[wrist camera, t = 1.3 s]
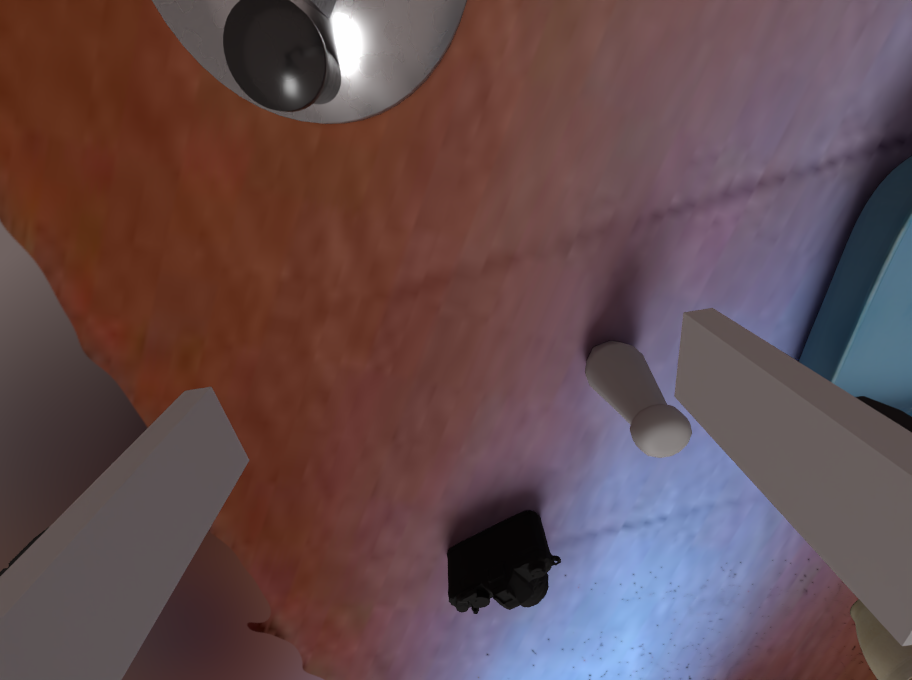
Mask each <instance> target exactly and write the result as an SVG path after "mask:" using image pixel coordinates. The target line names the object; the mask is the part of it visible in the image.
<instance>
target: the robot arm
mask: <svg viewBox="0 0 912 680" xmlns="http://www.w3.org/2000/svg"><path fill="white" fill-rule="evenodd" d="M675 397H676V399H677V400H678V401H679V402H680V403H681V404H682V405H683V406H684V407H685V408H686V410H687V411H688V412H689V413H690V414H691V415H692V416H693V417H694V418H695V419H696V421H697V422H698V423H699V424H700V425H701V426H702V427H703V428H704V429H705V430H706V432H707V433H708V434H709V435H710V436H711V437H712V438H713V439H714V440H715V441H716V443H717V444H718V445H719V446H720V447H721V448H722V449H723V450H724V451H725V452H726V454H727V455H728V456H729V457H730V458H731V459H732V460H733V461H734V462H735V463H736V465H737V466H738V467H739V468H740V469H741V470H742V471H743V472H744V473H745V474H746V475H747V477H748V478H749V479H750V480H751V481H752V482H753V483H754V484H755V485H756V486H757V488H758V489H759V490H760V491H761V492H762V493H763V494H764V495H765V496H766V497H767V499H768V500H769V501H770V502H771V503H772V504H773V505H774V506H775V507H776V508H777V510H778V511H779V512H780V513H781V514H782V515H783V516H784V517H785V518H786V519H787V521H788V522H789V523H790V524H791V525H792V526H793V527H794V528H795V529H796V530H797V532H798V533H799V534H800V535H801V536H802V537H803V538H804V539H805V540H806V541H807V543H808V544H809V545H810V546H811V547H812V548H813V549H814V550H815V551H816V552H817V553H818V555H819V556H820V557H821V558H822V559H823V560H824V561H825V562H826V563H827V564H828V566H829V567H830V568H831V569H832V570H833V571H834V572H835V573H836V574H837V575H838V577H839V578H840V579H841V580H842V581H843V582H844V583H845V584H846V585H847V586H848V588H849V589H850V590H851V591H852V592H853V593H854V594H855V595H856V596H857V597H858V599H859V600H860V601H861V602H862V603H863V604H864V605H865V606H866V607H867V608H868V610H869V611H870V612H871V613H872V614H873V615H874V616H875V617H876V618H877V619H878V621H879V622H880V623H881V624H882V625H883V626H884V627H885V628H886V629H887V630H888V631H889V633H890V634H891V635H892V636H893V637H894V638H895V639H896V640H897V641H898V642H899V644H900V645H901V646H908V645H912V416H910V415H908V414H906V413H905V412H903V411H901V410H899V409H897V408H894V407H891V406H889V405H886V404H884V403H881V402H878V401H876V400H873V399H870V398H868V397H865V396H859V397H854V396H852V395H851V394H849V393H848V392H846V391H844V390H843V389H841V388H840V387H838V386H836V385H835V384H833V383H832V382H830V381H828V380H827V379H825V378H824V377H822V376H820V375H819V374H817V373H816V372H814V371H812V370H811V369H809V368H808V367H806V366H804V365H803V364H801V363H800V362H798V361H796V360H795V359H793V358H792V357H790V356H788V355H787V354H785V353H784V352H782V351H780V350H779V349H777V348H776V347H774V346H772V345H771V344H769V343H768V342H766V341H764V340H763V339H761V338H760V337H758V336H756V335H755V334H753V333H752V332H750V331H748V330H747V329H745V328H744V327H742V326H740V325H739V324H737V323H736V322H734V321H732V320H731V319H729V318H728V317H726V316H724V315H723V314H721V313H720V312H718V311H716V310H715V309H713V308H709V309H703V310H697V311H690V312H684V314H683V323H682V332H681V341H680V350H679V359H678V369H677V378H676V387H675ZM248 462H249V459H248V457H247V455H246V453H245V451H244V449H243V447H242V445H241V443H240V441H239V439H238V437H237V436H236V434H235V432H234V430H233V428H232V426H231V424H230V422H229V420H228V418H227V416H226V414H225V412H224V410H223V408H222V407H221V405H220V403H219V401H218V399H217V397H216V395H215V393H214V391H213V389H212V387H207V388H200V389H194V390H188V391H184V392H183V393H182V394H181V395H180V396H179V397H178V398H177V399H176V400H175V401H174V402H173V403H172V404H171V405H170V406H169V407H168V408H167V409H166V410H165V411H164V412H163V413H162V414H161V415H160V416H159V417H158V419H157V420H156V421H155V422H154V423H153V424H152V425H151V426H150V427H149V428H148V429H147V430H146V431H145V432H144V433H143V434H142V435H141V436H140V437H139V438H138V439H137V440H136V441H135V442H134V443H133V444H132V445H131V446H130V447H129V448H128V449H127V450H126V451H125V452H124V453H123V454H122V455H121V456H120V457H119V458H118V459H117V460H116V461H115V462H114V463H113V464H112V465H111V466H110V467H109V468H108V469H107V470H106V471H105V472H104V473H103V474H102V475H101V476H100V477H99V478H98V479H97V480H96V481H95V482H94V483H93V484H92V485H91V486H90V487H89V488H88V489H87V490H86V491H85V492H84V493H83V494H82V495H81V496H80V497H79V498H78V499H77V500H76V501H75V502H74V503H73V504H72V505H71V506H70V507H69V508H68V509H67V510H66V511H65V512H64V513H63V514H62V515H61V516H60V517H59V518H58V519H57V520H56V521H55V522H54V523H53V524H52V525H51V526H50V527H49V528H47V529H46V530H44V531H43V532H42V533H40V534H39V535H38V536H36V537H35V538H34V539H33V540H32V541H31V542H30V543H29V544H28V545H27V546H26V547H25V548H24V549H23V550H22V551H21V552H20V553H19V554H18V555H17V556H16V557H15V558H14V559H13V560H12V561H11V562H10V563H9V567H8V568H5V569H3V570H2V571H1V572H0V680H121V679H122V678H123V676H124V674H125V673H126V671H127V669H128V668H129V666H130V664H131V662H132V661H133V659H134V657H135V656H136V654H137V652H138V650H139V648H140V647H141V645H142V643H143V642H144V640H145V638H146V637H147V635H148V633H149V631H150V629H151V628H152V626H153V625H154V623H155V621H156V619H157V618H158V616H159V614H160V613H161V611H162V609H163V607H164V606H165V604H166V602H167V601H168V599H169V597H170V595H171V594H172V592H173V590H174V589H175V587H176V585H177V583H178V582H179V580H180V578H181V577H182V575H183V573H184V571H185V570H186V568H187V566H188V564H189V563H190V561H191V559H192V557H193V556H194V554H195V552H196V551H197V549H198V547H199V546H200V544H201V542H202V540H203V539H204V537H205V535H206V534H207V532H208V530H209V529H210V527H211V525H212V523H213V522H214V520H215V518H216V516H217V515H218V513H219V511H220V510H221V508H222V506H223V504H224V503H225V501H226V499H227V498H228V496H229V494H230V492H231V491H232V489H233V487H234V486H235V484H236V482H237V480H238V479H239V477H240V475H241V474H242V472H243V470H244V468H245V467H246V465H247V463H248Z"/></svg>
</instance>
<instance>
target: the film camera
mask: <svg viewBox="0 0 912 680" xmlns="http://www.w3.org/2000/svg"><path fill="white" fill-rule="evenodd" d="M447 558H448V596H449V602H450V603H451V605H453V606H455V607H456V609H457V610H458V611H459V612H466V611H467V610H468V608H469V607H472V611H473V612H474V614H477V613H478V611H479V608H482V607H486V606H487V605H489V603H490V598H492V597H493V599H495V600H496V601H497V602H498V603H499V604H500V605H501V606H503V607H504V608H506V609H509V610H511V609H513V608H515V607H517V606H519V605H521V606H523V607H531V606H534V605H536V604H538V603H539V602H540V601H541V600H542V599H543V598H544V597H545V595H546V593H547V590H548V587H549V586H548V574H547V572H548V571H549V570H550V569H551V566H553V565H557V564H559V563H561V559H560V557H558V556H552V555H551V553H550V550H549V547H548V544H547V540H546V536H545V532H544V529H543V526H542V522H541V518H540V517H539V515H538V514H537V513H536V512H534V511H524V512H522V513H519V514H517V515H515V516H513V517H510V518H508V519H506V520H504V521H502V522H500V523H498V524H496V525H494V526H492V527H490V528H488V529H486V530H484V531H482V532H480V533H478V534H476V535H474V536H472V537H470V538H468V539H466V540H464V541H462V542H460V543H458V544H457V545H455V546H453V547H451V548H450V549H449V550H448V552H447ZM554 561H557V563H555V562H554Z"/></svg>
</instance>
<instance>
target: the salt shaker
mask: <svg viewBox="0 0 912 680" xmlns="http://www.w3.org/2000/svg"><path fill="white" fill-rule="evenodd" d="M585 374H586V377H587V380H588V383H589V385H590V386H591V387H592V388H593V389H594V390H595V391H596V392H597V393H598V394H599V395H600V396H601V397H603V398H604V399H605V400H606V401H607V402H608V403H609V404H610V405H611V406H612V407H613V408H614V409H615V410H616V411H617V412H618V413H619V414H620V415H621V416H622V417H623V418H624V419H625V420H626V421H627V422H628V423H629V424H630V425H631V426H630V432H631V435H632V438H633V441H634V442H635V444H636V446H637V447H638V448H639V449H640V450H641V451H643V452H644V453H645V454H646V455H648V456H652V457H658V458H662V457H668V456H672V455H674V454H676V453H678V452H680V451H681V450H682V449H683V448H684V447H685V446H686V445H687V444H688V442H689V440H690V437H691V434H692V430H691V425H690V423H689V421H688V419H687V418H686V417H685V416H684V415H683V414H682V413H681V412H680V411H679V410H678V409H676V408H675V407H673V406H670V405H667V403H666V401H665V399H664V397H663V395H662V393H661V391H660V389H659V387H658V385H657V383H656V381H655V379H654V377H653V375H652V373H651V371H650V369H649V367H648V364H647V362H646V360H645V358H644V356H643V354H642V353H640V352H639V351H638V350H637V349H636V348H635V347H633V346H632V345H628V344H625V343H621V342H616V341H608V342H605V343H603V344H600V345H597V346H595V347H593V349H592V351H591V353H590V355H589V357H588V359H587V361H586V368H585Z"/></svg>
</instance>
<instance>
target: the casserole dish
mask: <svg viewBox="0 0 912 680" xmlns="http://www.w3.org/2000/svg"><path fill="white" fill-rule="evenodd" d="M799 362H800V363H801V364H803V365H804V366H806V367H808V368H809V369H811V370H812V371H814V372H816V373H817V374H819V375H820V376H822V377H824V378H825V379H827V380H828V381H830V382H832V383H833V384H835V385H836V386H838V387H840V388H841V389H843V390H844V391H846V392H848V393H849V394H851V395H852V396H854V397H859V396H865V397H868V398H870V399H873V400H876V401H878V402H881V403H884V404H886V405H889V406H891V407H894V408H897V409H899V410H901V411H903V412H905V413H906V414H908V415H910V416H912V156H911V157H909V158H908V159H906V160H905V161H904V162H902V163H901V164H900V165H899V166H897V167H896V168H895V169H894V170H892V172H891V173H890V174H889V175H888V176H887V177H886V178H885V179H884V180H883V181H882V182H881V183H880V185H879V186H878V187H877V189H876V190H875V191H874V193H873V194H872V196H871V197H870V199H869V200H868V202H867V204H866V205H865V207H864V209H863V210H862V212H861V214H860V216H859V218H858V220H857V222H856V224H855V226H854V228H853V230H852V232H851V235H850V237H849V239H848V241H847V244H846V246H845V249H844V251H843V254H842V256H841V259H840V261H839V264H838V266H837V269H836V271H835V274H834V276H833V279H832V281H831V283H830V286H829V288H828V291H827V293H826V296H825V298H824V301H823V303H822V305H821V308H820V310H819V313H818V315H817V318H816V320H815V322H814V325H813V327H812V330H811V332H810V334H809V337H808V340H807V342H806V345H805V347H804V350H803V352H802V355H801V357H800V360H799Z"/></svg>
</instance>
